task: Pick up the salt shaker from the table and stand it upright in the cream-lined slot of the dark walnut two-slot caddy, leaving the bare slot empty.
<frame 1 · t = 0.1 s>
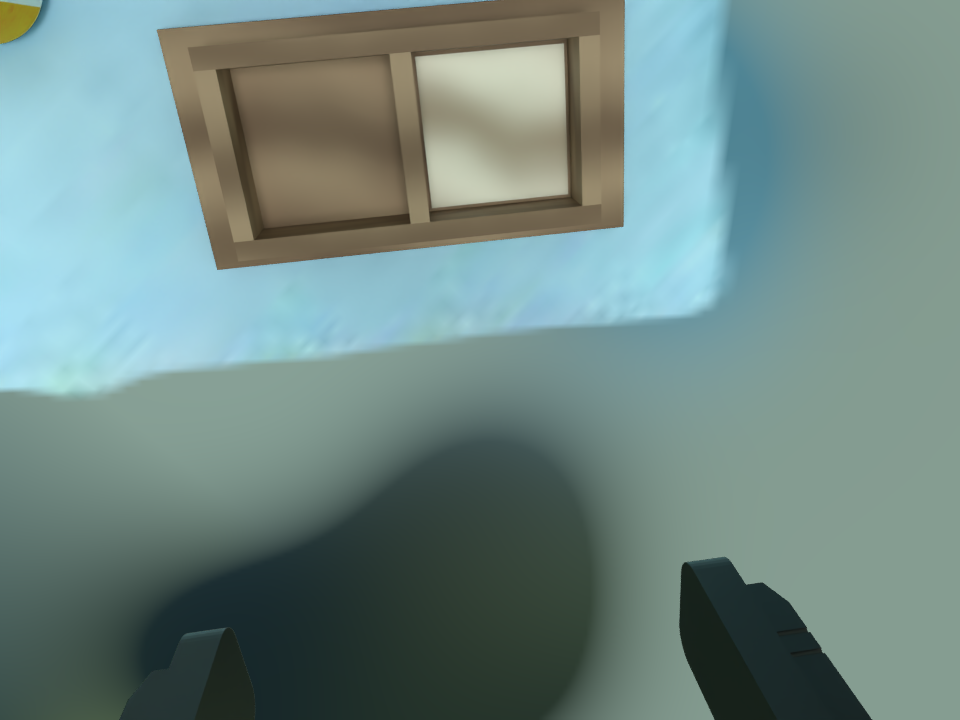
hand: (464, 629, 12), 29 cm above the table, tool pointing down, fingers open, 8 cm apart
slot caddy: (410, 135, 36), on the table
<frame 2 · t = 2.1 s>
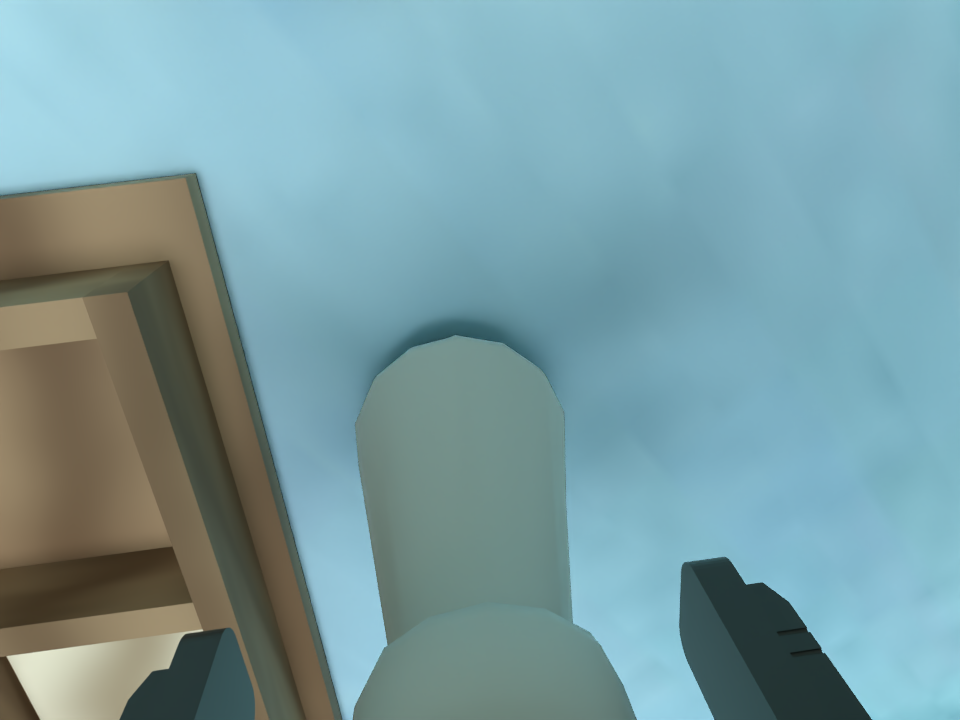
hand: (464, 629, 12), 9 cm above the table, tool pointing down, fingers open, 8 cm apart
slot caddy: (107, 552, 22), on the table
salt shaker: (456, 395, 21), on the table
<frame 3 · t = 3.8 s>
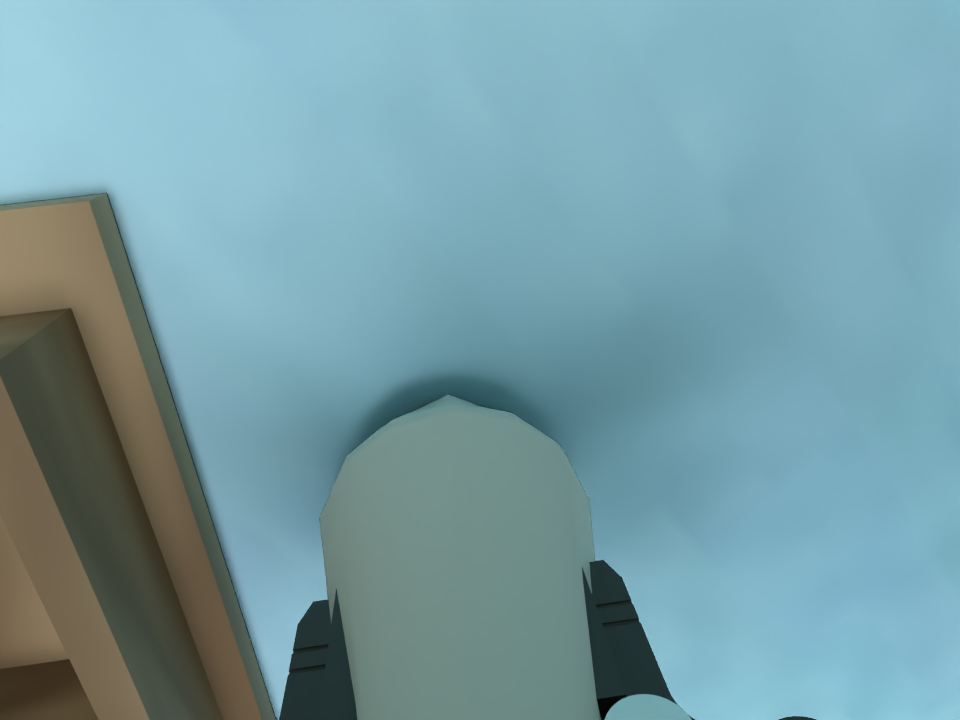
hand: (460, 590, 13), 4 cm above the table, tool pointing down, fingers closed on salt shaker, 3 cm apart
slot caddy: (16, 658, 18), on the table
salt shaker: (450, 465, 17), on the table, touching gripper
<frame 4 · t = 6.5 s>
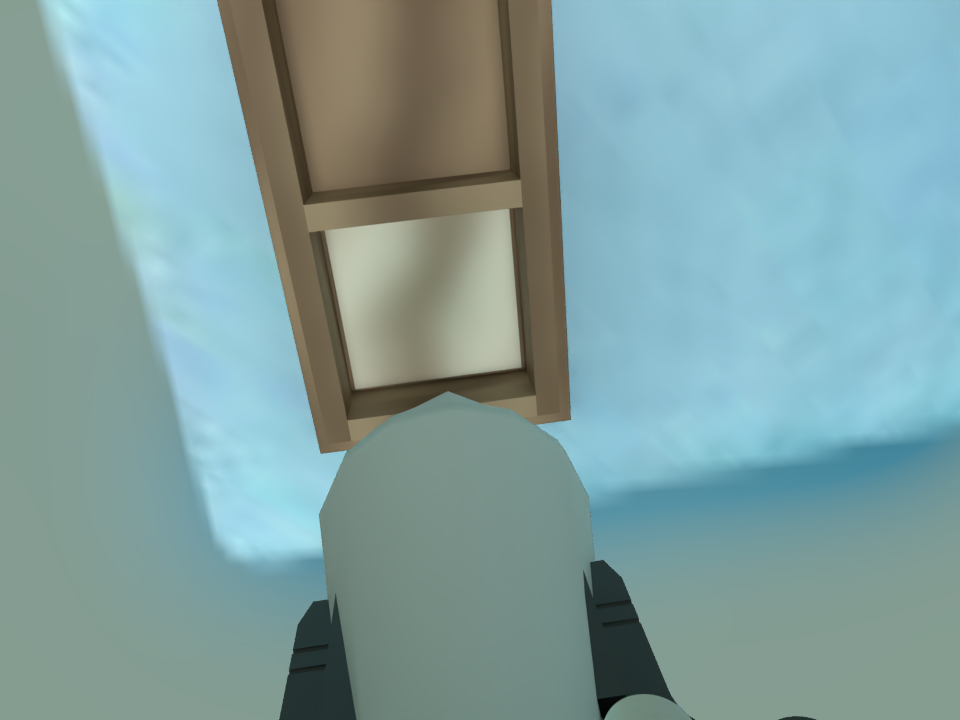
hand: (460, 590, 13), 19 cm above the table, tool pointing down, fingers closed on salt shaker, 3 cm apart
slot caddy: (413, 189, 28), on the table
salt shaker: (449, 463, 17), point 14 cm above the table, touching gripper
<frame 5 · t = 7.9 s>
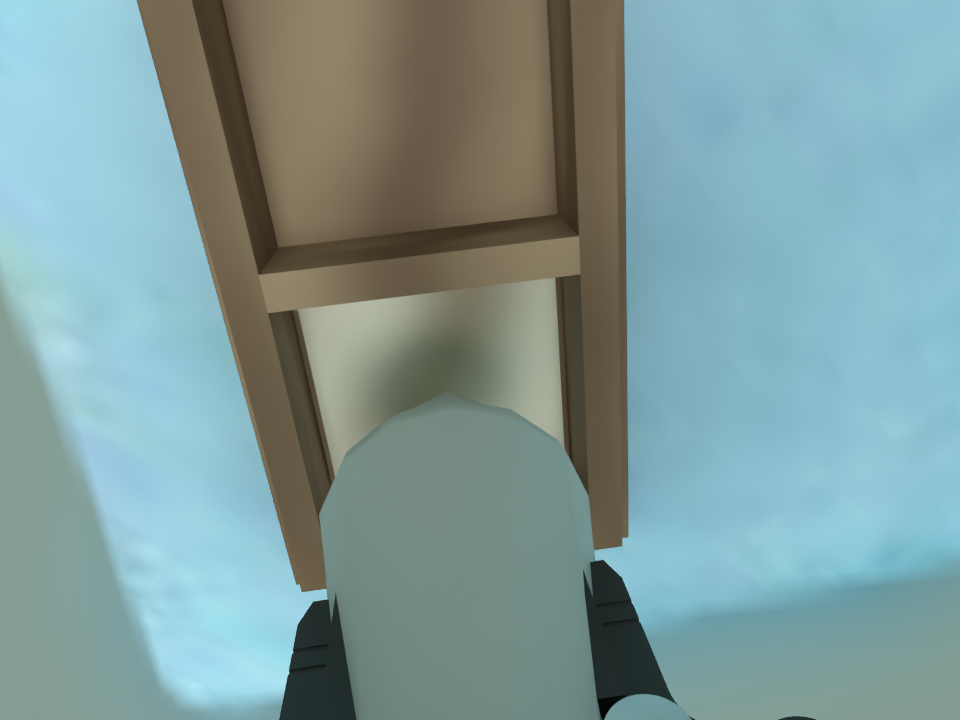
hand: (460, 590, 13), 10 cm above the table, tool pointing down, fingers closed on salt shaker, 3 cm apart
slot caddy: (421, 241, 20), on the table
salt shaker: (449, 462, 17), point 5 cm above the table, touching gripper
when the fingers open (7 cm above the table, at t = 9.3 s): salt shaker drops 1 cm, resting on slot caddy.
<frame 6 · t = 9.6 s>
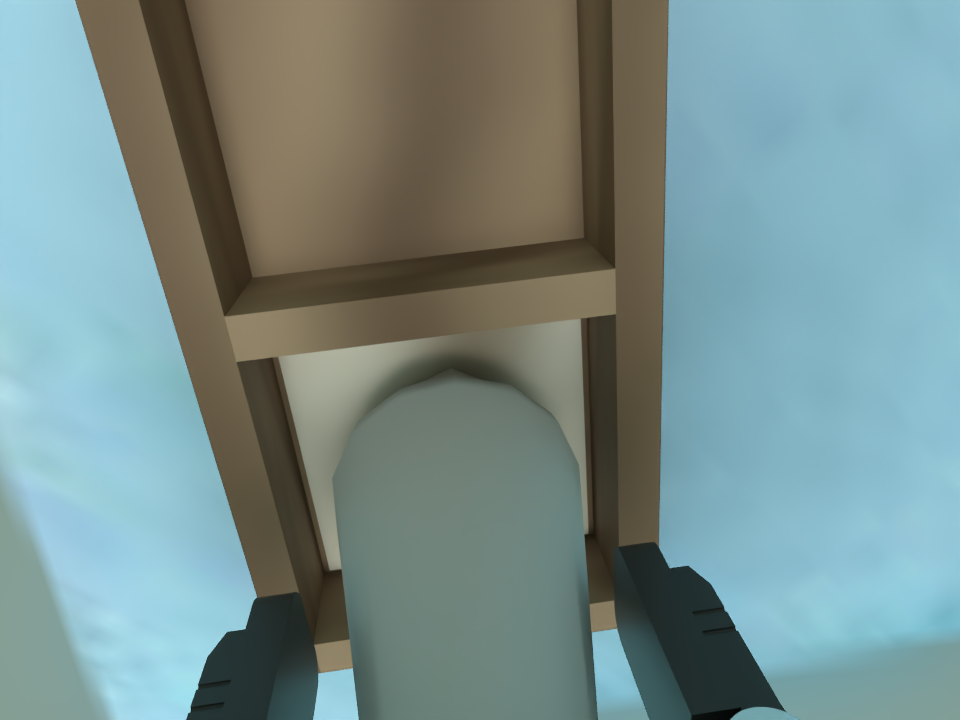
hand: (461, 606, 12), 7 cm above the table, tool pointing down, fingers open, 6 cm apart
slot caddy: (422, 268, 17), on the table
salt shaker: (451, 434, 18), point 1 cm above the table, touching slot caddy
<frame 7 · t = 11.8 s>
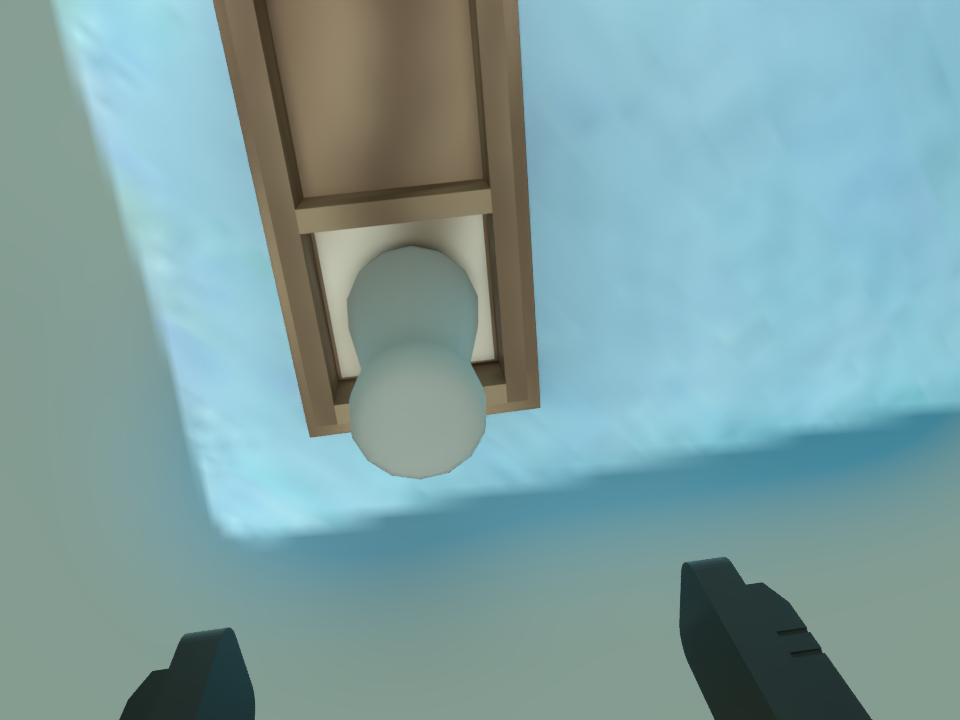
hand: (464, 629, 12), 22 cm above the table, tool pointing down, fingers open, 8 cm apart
slot caddy: (395, 196, 31), on the table
salt shaker: (412, 293, 32), point 1 cm above the table, touching slot caddy
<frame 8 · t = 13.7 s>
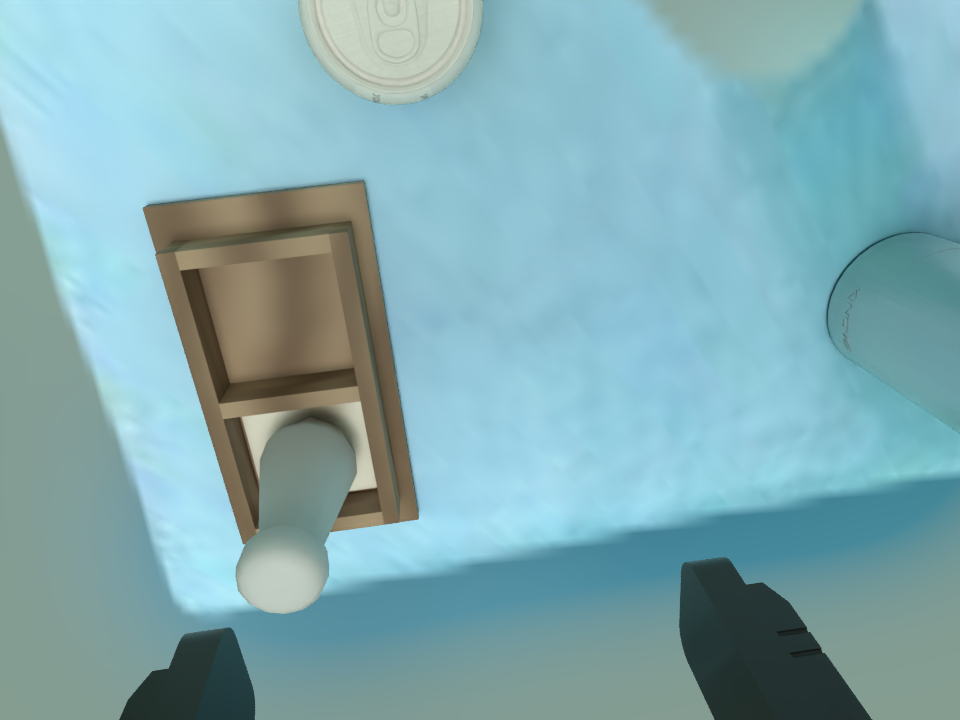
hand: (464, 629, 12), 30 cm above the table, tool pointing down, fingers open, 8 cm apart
beer can: (397, 27, 35), on the table
slot caddy: (299, 377, 42), on the table
salt shaker: (314, 443, 43), point 1 cm above the table, touching slot caddy
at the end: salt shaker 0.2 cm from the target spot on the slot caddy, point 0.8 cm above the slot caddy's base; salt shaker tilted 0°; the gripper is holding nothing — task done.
